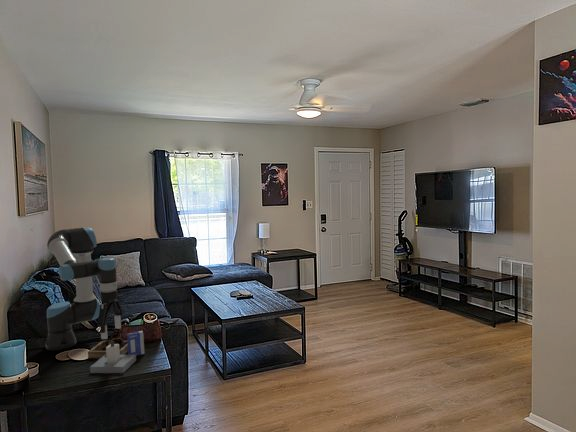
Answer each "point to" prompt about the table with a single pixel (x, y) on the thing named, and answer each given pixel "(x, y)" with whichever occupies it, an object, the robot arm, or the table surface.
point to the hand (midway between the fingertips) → (111, 333)
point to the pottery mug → (116, 342)
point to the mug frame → (98, 353)
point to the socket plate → (113, 365)
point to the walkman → (135, 343)
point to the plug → (113, 353)
